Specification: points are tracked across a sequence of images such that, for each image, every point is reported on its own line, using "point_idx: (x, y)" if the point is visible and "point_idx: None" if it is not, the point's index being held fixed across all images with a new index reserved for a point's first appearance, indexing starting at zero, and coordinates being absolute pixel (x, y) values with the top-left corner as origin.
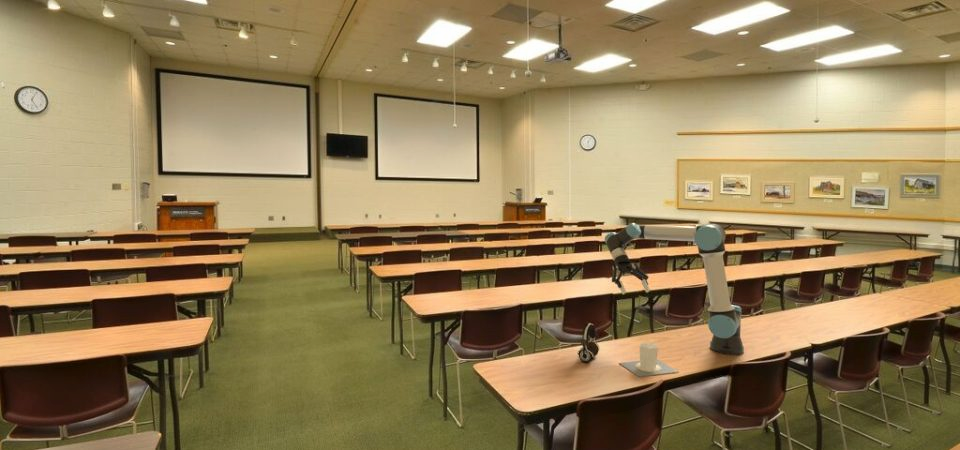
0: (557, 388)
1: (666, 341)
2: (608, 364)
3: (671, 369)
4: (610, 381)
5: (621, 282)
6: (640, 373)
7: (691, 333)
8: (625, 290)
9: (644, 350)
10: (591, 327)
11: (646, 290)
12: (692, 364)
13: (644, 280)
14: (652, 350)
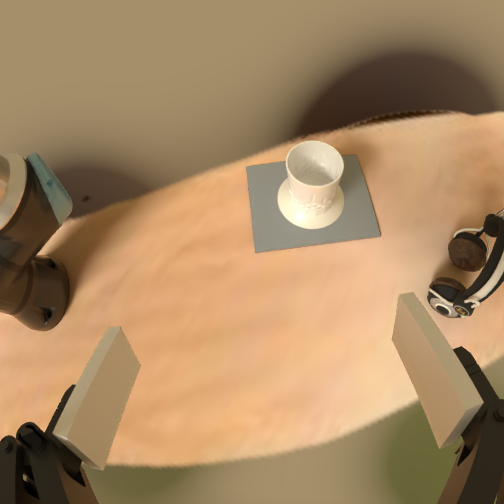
0: (498, 150)
1: (134, 397)
2: (408, 236)
3: (256, 178)
4: (420, 150)
5: (460, 381)
6: (347, 167)
7: (47, 423)
8: (406, 300)
9: (334, 155)
10: (500, 225)
11: (129, 364)
12: (178, 210)
13: (69, 420)
14: (313, 145)
